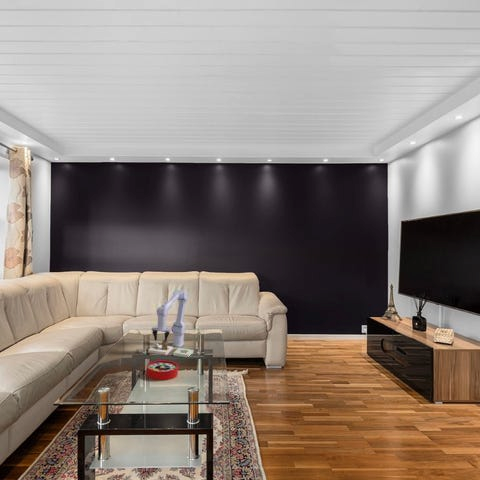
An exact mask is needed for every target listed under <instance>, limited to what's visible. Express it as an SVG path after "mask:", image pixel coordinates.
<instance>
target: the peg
mask: <svg viewBox="0 0 480 480" xmlns="http://www.w3.org/2000/svg"><path fill="white" fill-rule="evenodd" d="M161 342H162V343H161V345H162V350H167V346H168V342H169V341H168V340H167V341H166V342H165V339H163V340H162V341H161Z"/></svg>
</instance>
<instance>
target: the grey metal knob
mask: <svg viewBox="0 0 480 480" xmlns="http://www.w3.org/2000/svg"><path fill="white" fill-rule="evenodd" d="M152 344H153V346H154V348H158V345H160V344H159V342H153V343H152Z"/></svg>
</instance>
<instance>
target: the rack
mask: <svg viewBox="0 0 480 480" xmlns="http://www.w3.org/2000/svg"><path fill="white" fill-rule="evenodd" d="M194 352H195V351H194V349H190V348H183V347H182V348H181V347H177V349H175V351H173V352H172V356H175V357H180V358H181V357H182V358H187V357H189V356H190V355H191V354H192V355H193V354H194ZM192 355H191V356H192ZM191 356H190V357H191ZM190 357H189V358H190Z"/></svg>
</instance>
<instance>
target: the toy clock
mask: <svg viewBox="0 0 480 480" xmlns="http://www.w3.org/2000/svg"><path fill="white" fill-rule="evenodd" d="M178 368H179V365H178V363H176V362H174V361H171V360H164V359H163V360H154V361H150V362H149V363H147V364H146V377H147V378H148V379H151V380H154V381H163V382H164V381H170V380H174V379H176V378H177V377H178V373H179V372H178V370H179V369H178Z"/></svg>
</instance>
